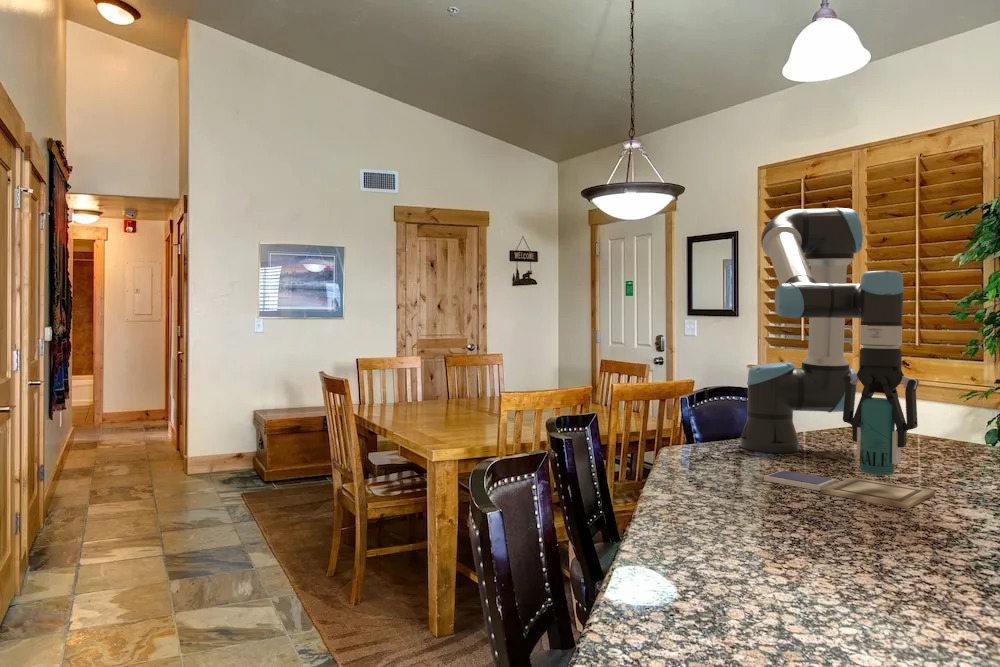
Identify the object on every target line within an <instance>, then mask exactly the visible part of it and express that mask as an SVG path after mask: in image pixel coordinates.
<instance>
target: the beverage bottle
mask: <svg viewBox="0 0 1000 667" xmlns="http://www.w3.org/2000/svg"><path fill="white" fill-rule="evenodd" d="M868 392H874V394H883V393H884V389H883V386H882V384H881V382H872V383H871V384H870V385H869V389H868ZM861 405H862V410H861V414H860V415H861V420H860V423H861V429H860V431H861V435H860V436H861V441H860V442H861V444H860V445H861V449H860V458H859V459H858V462H859V468H860V471H861V472H862V473H864V474H869V475H876V476H892V475H894V473H895V464H892V433H893V431H895V430H896V425H895V422H894V418H893V415H892V405H891V404H890V403H889V402H888V399H887V398H886V397H873V396H872V397H871V398H867V399H865V400H864V401H863V402H862V403H861Z"/></svg>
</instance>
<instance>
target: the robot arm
mask: <svg viewBox="0 0 1000 667" xmlns="http://www.w3.org/2000/svg"><path fill="white" fill-rule="evenodd" d="M863 237H864V235H863V226H862V222H861V218H860V216H859V214H858V212H857V211H856V210H854V209H852V208H844V207H830V208H829V207H827V208H825V207H823V208H793V209H789V210H785V211H783V212H781V213H778V215H776V216H774V217H773V218H772V219H770V220H769V222H767V224H766V225H765V226H764V229H763V230H762V233H761V236H760V239H761V240H760V243H761V248H762V250H763V253H764V254H765V256H767V257H768V258H770V261H771V264H772V267H773V270H774V272H775V276H776V278H777V281H778V285H777V286H776V288H775V292H774V293H775V294H774V308H775V313H776V315H777V316H779V317H782V318H792V319H799V318H800V319H801V318H802V319H807V318H808V319H809V320H808V321H809V322H808V324H809V325H808V329H809V330H808V350H807V352H808V353H807V356H805V358H804V359H802V360H801V367H795V365H794V363H793V362H789V361H788V362H785V361H784V362H771V363H764V364H758V365H753V366H752V367H750V369H749V370H748V375H747V382H746V385H747V410H746V411H747V413H746V414H747V416H746V417H747V418H746V421H745V423H744V424H745V425H744V427H743V430H742V433H741V436H740V437H739V438H740V440H739V441H740V442H739V445H740V448H742V449H744V450H749V451H754V452H761V453H771V454H772V453H773V454H776V453H777V454H787V453H788V454H789V453H796V452H799V451H800V441H799V440H800V439H799V437H798V434H797V431H796V427H795V425H794V419H793V418H794V417H793V416H794V411H795V412H796V411H797V412H801V411H802V412H804V411H805V412H824V413H825V412H826V413H835V412H836V413H841V412H843V413H842V414H843V415H842V421H843V422H844V423H847V424H850V425H851V428H852V435H851V436H852V442H855V443H856V459H857V460H859V458H860V449H861V445H860V444H861V442H860V441H861V436H860V435H861V431H860V429H861V423H860V420H861V415H860V414H861V410H862V405H861V403H862V402H863V401H864V400H865V399H867V398H871V397H873V396H874V394H875V393H874V392H868V389H869V385H870V384H871V383H872V382H881V384H882V386H883V389H884V393H882V394H884V395H885V398H887V399H888V402H889V403H890V404H891V405H892V415H893V418H894V422H895V431H893V433H892V464H894V465H898V464H900V463H901V462H902V459H901V458H902V448H903V449H904V448H906V446H907V435H908V434H907V433H908V431H910V430H915V429H917V428H918V425H919V424H918V408H917V407H918V406H917V404H918V403H917V389H918V385H919V382H920V381H919V379H917V378H910V377H907V376H904V372H903V371H902V370H903V369H902V366H903V364H902V358H903V354H902V353H903V351H902V350H901V348H899V347H902V346H903V310H904V309H903V308H904V291H905V287H904V280H903V279H904V278H903V274H902V273H901V272H900V271H898V270H872V271H871V270H870V271H864V272H863V273H862V274H861V278H860V283H855V282H854V283H851V282H850V283H848V282H847V270H848V265H849V264H850V263H851V262H853V260H854V255H855V254H857V253H859V252H860V251H861V250H862V247H863V240H864V238H863ZM846 319H860V323H859V324H860V326H859V331H860V332H859V345H861V346H863V347H861V348H860V349H859V369H858V370H857V372H856V370H854V369H853V368H850V362H849V360H847V359H846V358H845V356H844V352H845V351H844V349H845V348H844V346H845V326H846V325H845V324H846V322H845V321H846ZM858 380H859V381H860V383H861V384H862V385H863V388H862V391H861V397H860V399H859V401H858V405H857V407H856V411H855V401H856V393H857V386H858ZM901 383H902V384H903V388H904V389H905V391H904V392H905V393H904V395H905V398H904V399H905V400H904V401H905V416H904V412H903V409H902V406H901V403H900V400H899V394H898V390H897V387H898V386H900V384H901ZM905 417H906V418H905Z"/></svg>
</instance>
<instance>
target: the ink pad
mask: <svg viewBox="0 0 1000 667" xmlns="http://www.w3.org/2000/svg"><path fill="white" fill-rule="evenodd" d="M763 481H764V482H769V483H775V484H781V485H787V486H790V487H791V486H793V487H796V488H801V487H802V489H808V490H811V491H820V492H821V489H823V488H825V487H828V486H831V485H833V484H836V483H838V479H837V478H832V477H826V476H821V475H815V474H809V473H801V472H797V471H790V470H786V469H785V470H783V469H782V470H779V471H776V472H773V473H770V474H766V475H764V476H763Z"/></svg>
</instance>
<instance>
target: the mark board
mask: <svg viewBox="0 0 1000 667" xmlns="http://www.w3.org/2000/svg"><path fill="white" fill-rule="evenodd" d="M820 492H821V494H824V495H830V496H831V495H832V496H835V497H840V498H841V497H842V498H846V499H852V500H855V501H856V500H857V501H861V502H862V501H863V502H867V503H873V504H878V505H885V506H889V507H894V508H900V509H905V510H909V509H911V508H912V507H915V506H916V505H918V504H920V503H922V502H924V501H925V500H927V499H928V498H931V497H933V496H934V495H935V490H933V489H928V488H927V489H926V488H919V487H913V486H908V485H902V484H896V483H889V482H883V481H878V480H872V479H865V478H860V477H859V478H858V477H854V476H851V477H848V478H846V479H844V480H840V481H837V483H836V484H833V485H831V486H828V487H825V488H823V489H821V490H820Z"/></svg>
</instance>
